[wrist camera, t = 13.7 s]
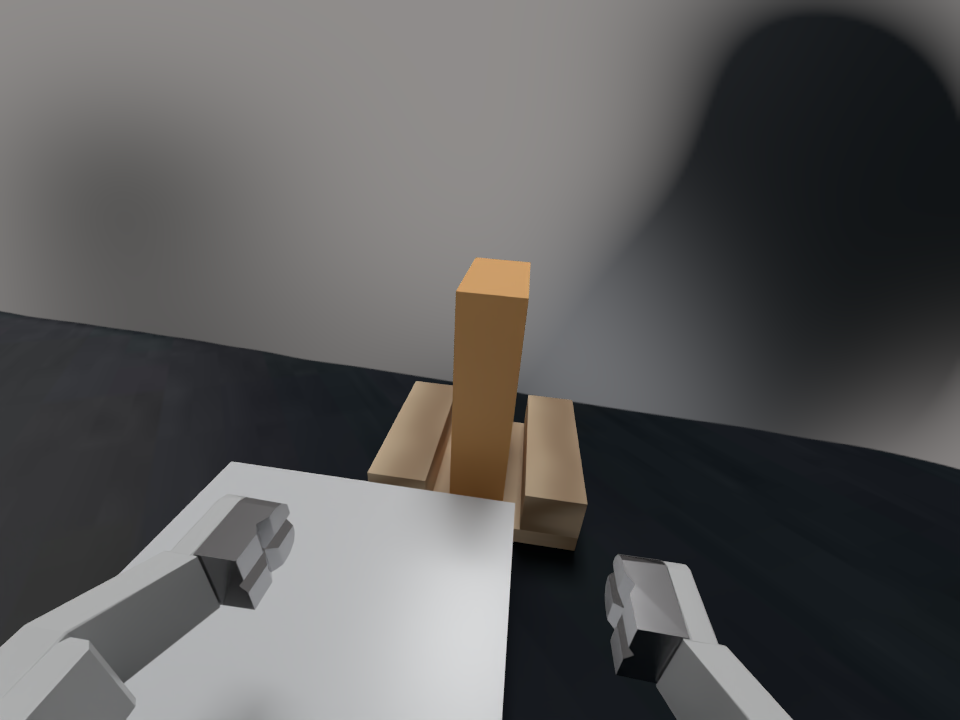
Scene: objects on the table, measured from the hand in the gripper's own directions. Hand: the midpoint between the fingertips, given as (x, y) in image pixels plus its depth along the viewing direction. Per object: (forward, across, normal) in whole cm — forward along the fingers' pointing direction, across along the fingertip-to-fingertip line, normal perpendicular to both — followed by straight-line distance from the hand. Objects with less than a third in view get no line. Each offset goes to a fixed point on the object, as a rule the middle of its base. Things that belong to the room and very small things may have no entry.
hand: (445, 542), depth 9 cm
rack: (+12, 0, +10) cm, 15 cm away
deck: (+2, +5, +10) cm, 11 cm away
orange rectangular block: (+12, 0, +9) cm, 15 cm away
